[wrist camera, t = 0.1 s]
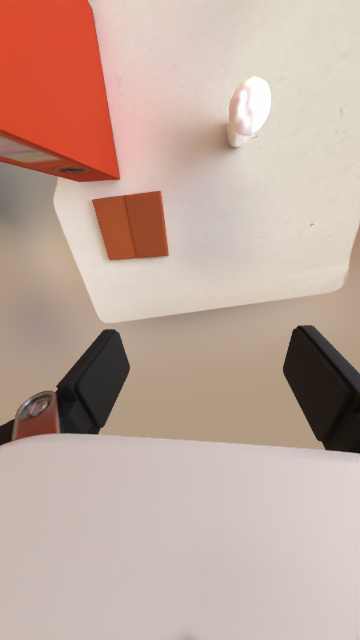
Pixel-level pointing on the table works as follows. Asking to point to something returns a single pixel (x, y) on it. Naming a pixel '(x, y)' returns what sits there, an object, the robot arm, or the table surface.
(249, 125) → the milkshake
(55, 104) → the file binder
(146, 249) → the cloth
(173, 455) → the robot arm
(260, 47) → the table surface
